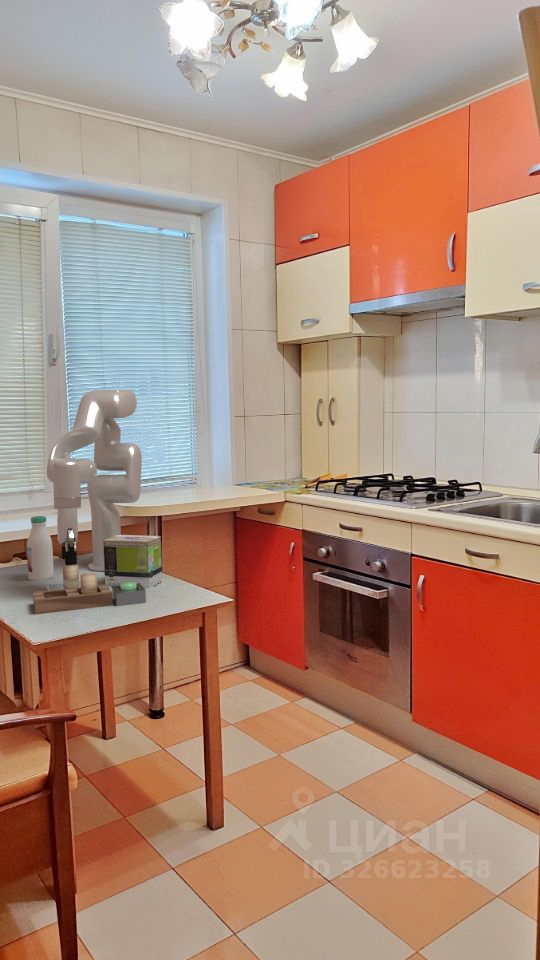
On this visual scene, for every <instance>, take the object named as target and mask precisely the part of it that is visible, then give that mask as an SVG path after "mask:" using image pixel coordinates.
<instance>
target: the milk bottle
mask: <svg viewBox="0 0 540 960" xmlns="http://www.w3.org/2000/svg"><path fill="white" fill-rule="evenodd" d="M30 522H31V523H30V524H31V530H30V533H29V535H28V538H27V542H26V543H27V544H26V553H27V574H28V579H29V581H43V580H44V581H45V580H50V579H53V578H54V576H55V575H54V573H55V572H54V571H55V569H54V553H53V540H52V537H51V535H50V534H49V531H48V529H47V526H46V524H47V517H46V515H45V516H44V515H35V516H31V517H30Z"/></svg>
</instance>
